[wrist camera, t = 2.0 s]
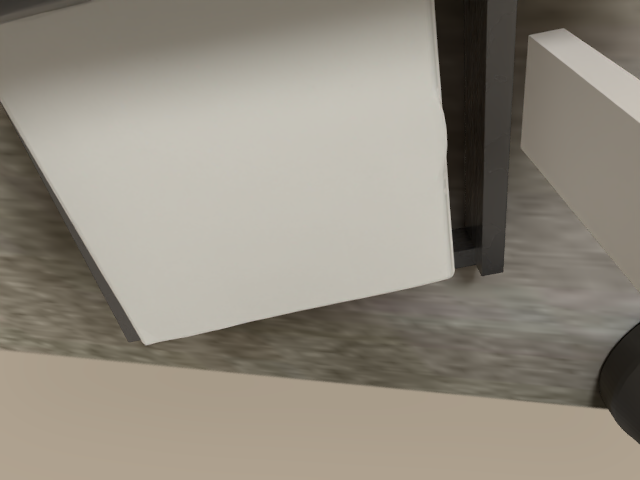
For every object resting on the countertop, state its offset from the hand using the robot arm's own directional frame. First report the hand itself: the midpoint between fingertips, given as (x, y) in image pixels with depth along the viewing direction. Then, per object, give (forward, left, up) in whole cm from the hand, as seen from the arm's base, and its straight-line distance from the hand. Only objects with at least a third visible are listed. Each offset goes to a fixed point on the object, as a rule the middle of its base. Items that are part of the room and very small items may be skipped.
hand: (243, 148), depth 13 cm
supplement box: (0, 0, -14) cm, 14 cm away
